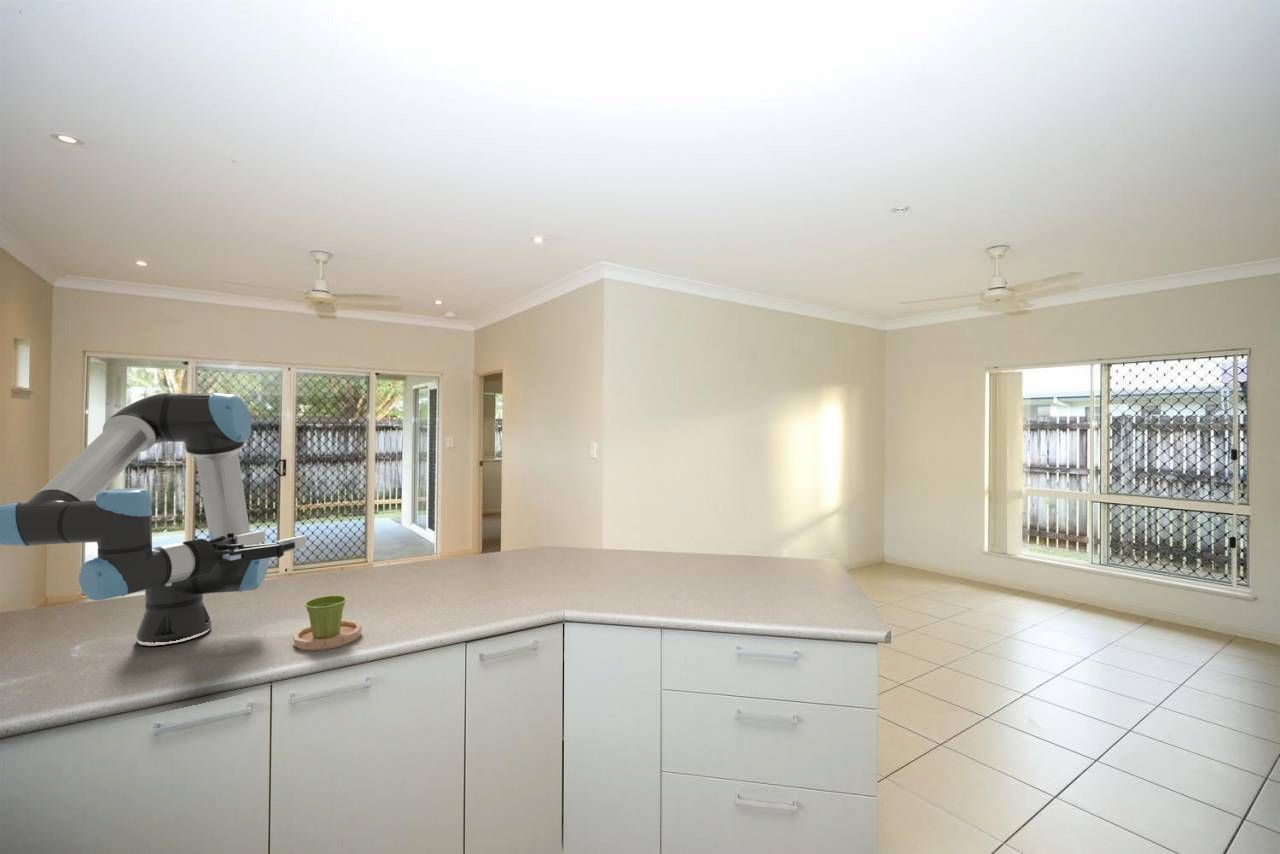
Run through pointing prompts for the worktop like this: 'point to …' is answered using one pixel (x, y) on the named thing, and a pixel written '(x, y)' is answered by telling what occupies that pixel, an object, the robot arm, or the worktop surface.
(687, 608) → the worktop surface
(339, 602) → the plant pot
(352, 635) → the saucer
